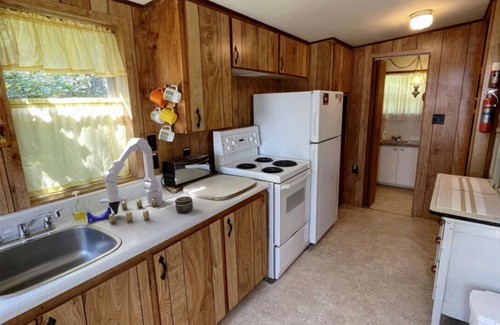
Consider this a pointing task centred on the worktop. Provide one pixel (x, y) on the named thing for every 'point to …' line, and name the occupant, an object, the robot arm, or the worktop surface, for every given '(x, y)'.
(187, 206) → the jar
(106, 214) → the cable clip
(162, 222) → the worktop surface
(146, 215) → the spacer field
